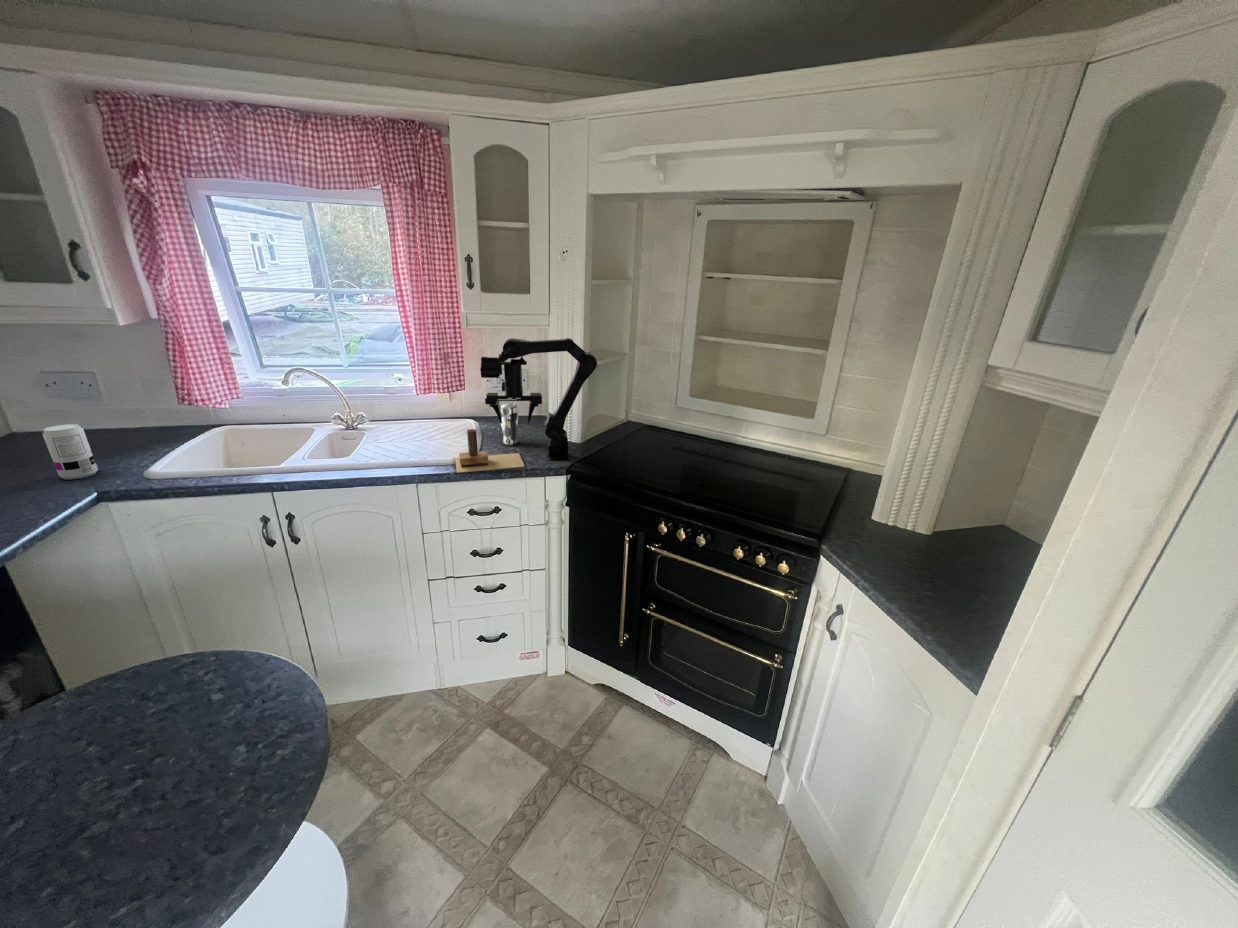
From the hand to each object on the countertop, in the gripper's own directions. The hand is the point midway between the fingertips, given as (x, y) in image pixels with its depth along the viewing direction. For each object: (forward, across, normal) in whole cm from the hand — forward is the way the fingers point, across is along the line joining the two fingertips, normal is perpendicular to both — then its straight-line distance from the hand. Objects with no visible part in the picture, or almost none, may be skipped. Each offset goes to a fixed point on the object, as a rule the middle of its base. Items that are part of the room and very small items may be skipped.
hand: (515, 422), depth 170 cm
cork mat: (+13, +9, +4) cm, 16 cm away
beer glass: (+13, +3, -17) cm, 22 cm away
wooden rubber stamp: (+13, +14, +5) cm, 20 cm away
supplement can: (+13, +129, +6) cm, 130 cm away
